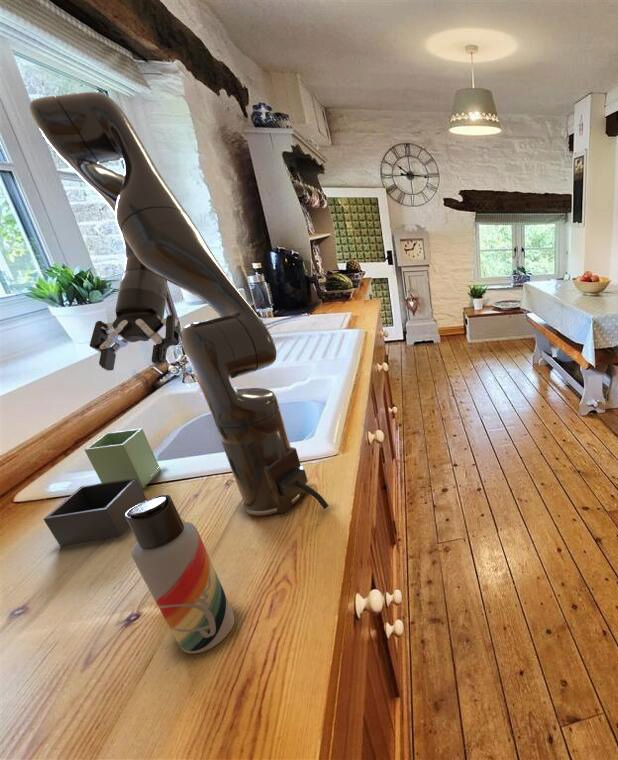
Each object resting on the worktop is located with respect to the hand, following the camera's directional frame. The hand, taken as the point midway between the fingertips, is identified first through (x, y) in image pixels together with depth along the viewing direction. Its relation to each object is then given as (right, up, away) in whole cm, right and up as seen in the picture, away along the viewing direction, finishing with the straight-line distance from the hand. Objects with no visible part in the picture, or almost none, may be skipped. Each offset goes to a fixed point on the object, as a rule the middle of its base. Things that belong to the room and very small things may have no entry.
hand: (132, 366), depth 80 cm
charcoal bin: (+7, -27, -12) cm, 30 cm away
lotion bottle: (+37, -34, -30) cm, 58 cm away
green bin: (+1, -23, -1) cm, 23 cm away
